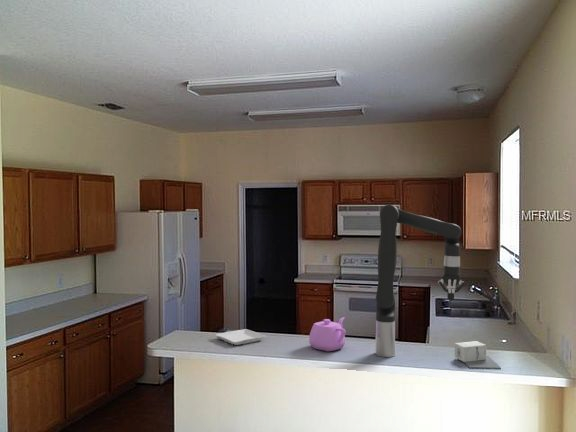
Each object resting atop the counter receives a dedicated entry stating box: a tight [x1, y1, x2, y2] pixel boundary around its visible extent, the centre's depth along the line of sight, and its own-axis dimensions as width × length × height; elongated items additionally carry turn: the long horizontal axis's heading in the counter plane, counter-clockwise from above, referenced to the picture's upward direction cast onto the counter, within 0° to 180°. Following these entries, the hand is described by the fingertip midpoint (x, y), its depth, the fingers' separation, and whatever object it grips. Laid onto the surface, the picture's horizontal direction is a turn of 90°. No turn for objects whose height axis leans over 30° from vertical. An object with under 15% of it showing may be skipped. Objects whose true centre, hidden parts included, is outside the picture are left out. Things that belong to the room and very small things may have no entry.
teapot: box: [308, 316, 347, 352], centre depth 258 cm, size 23×21×15 cm
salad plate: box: [214, 328, 266, 346], centre depth 273 cm, size 21×21×3 cm
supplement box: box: [454, 340, 487, 363], centre depth 235 cm, size 7×7×13 cm
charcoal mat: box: [463, 355, 502, 370], centre depth 232 cm, size 14×18×1 cm
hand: (450, 300), depth 237 cm, fingers closed
